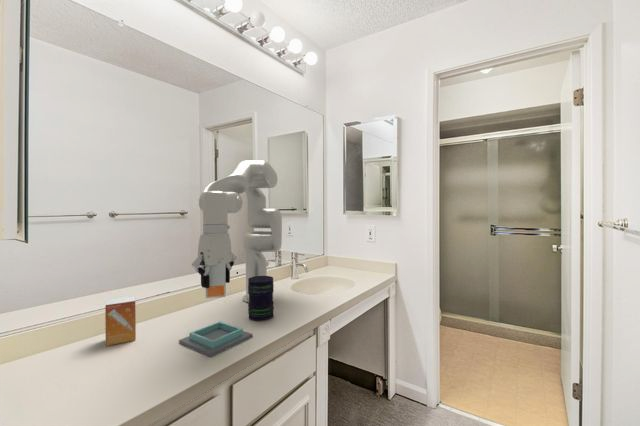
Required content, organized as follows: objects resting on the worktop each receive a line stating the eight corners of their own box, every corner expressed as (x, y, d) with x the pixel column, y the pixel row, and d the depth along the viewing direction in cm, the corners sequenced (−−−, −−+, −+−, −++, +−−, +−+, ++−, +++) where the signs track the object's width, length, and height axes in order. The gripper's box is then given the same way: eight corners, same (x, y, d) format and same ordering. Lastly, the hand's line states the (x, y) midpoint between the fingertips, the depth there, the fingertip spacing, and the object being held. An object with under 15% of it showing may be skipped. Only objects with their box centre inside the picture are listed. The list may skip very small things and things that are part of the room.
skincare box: (205, 298, 94) (205, 260, 93) (206, 295, 98) (206, 258, 97) (225, 297, 95) (225, 259, 95) (226, 293, 99) (225, 257, 99)
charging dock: (221, 326, 108) (221, 318, 108) (252, 336, 99) (252, 327, 99) (179, 343, 95) (178, 333, 94) (210, 357, 86) (210, 346, 86)
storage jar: (253, 323, 111) (253, 283, 110) (244, 315, 119) (244, 277, 119) (278, 317, 116) (277, 279, 116) (267, 310, 124) (267, 274, 124)
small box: (105, 347, 92) (104, 305, 92) (106, 339, 98) (105, 299, 97) (136, 340, 97) (135, 300, 96) (135, 333, 102) (134, 295, 102)
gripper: (229, 227, 105) (230, 278, 106) (183, 231, 91) (184, 289, 91) (244, 228, 101) (244, 280, 102) (198, 232, 87) (198, 293, 87)
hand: (215, 284), depth 96 cm, fingers closed on skincare box, 7 cm apart
